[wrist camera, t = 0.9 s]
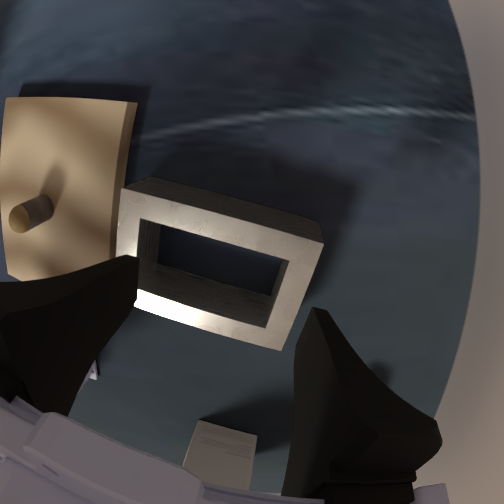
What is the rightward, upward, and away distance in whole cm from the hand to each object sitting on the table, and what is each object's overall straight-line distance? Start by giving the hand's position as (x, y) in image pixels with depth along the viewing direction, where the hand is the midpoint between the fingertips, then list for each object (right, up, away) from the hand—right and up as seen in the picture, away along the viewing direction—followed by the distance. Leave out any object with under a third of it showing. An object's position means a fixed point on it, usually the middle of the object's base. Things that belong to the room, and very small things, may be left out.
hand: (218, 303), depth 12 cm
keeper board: (-15, +6, +10) cm, 19 cm away
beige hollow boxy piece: (-1, +2, +10) cm, 10 cm away
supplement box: (-2, -21, +20) cm, 29 cm away
